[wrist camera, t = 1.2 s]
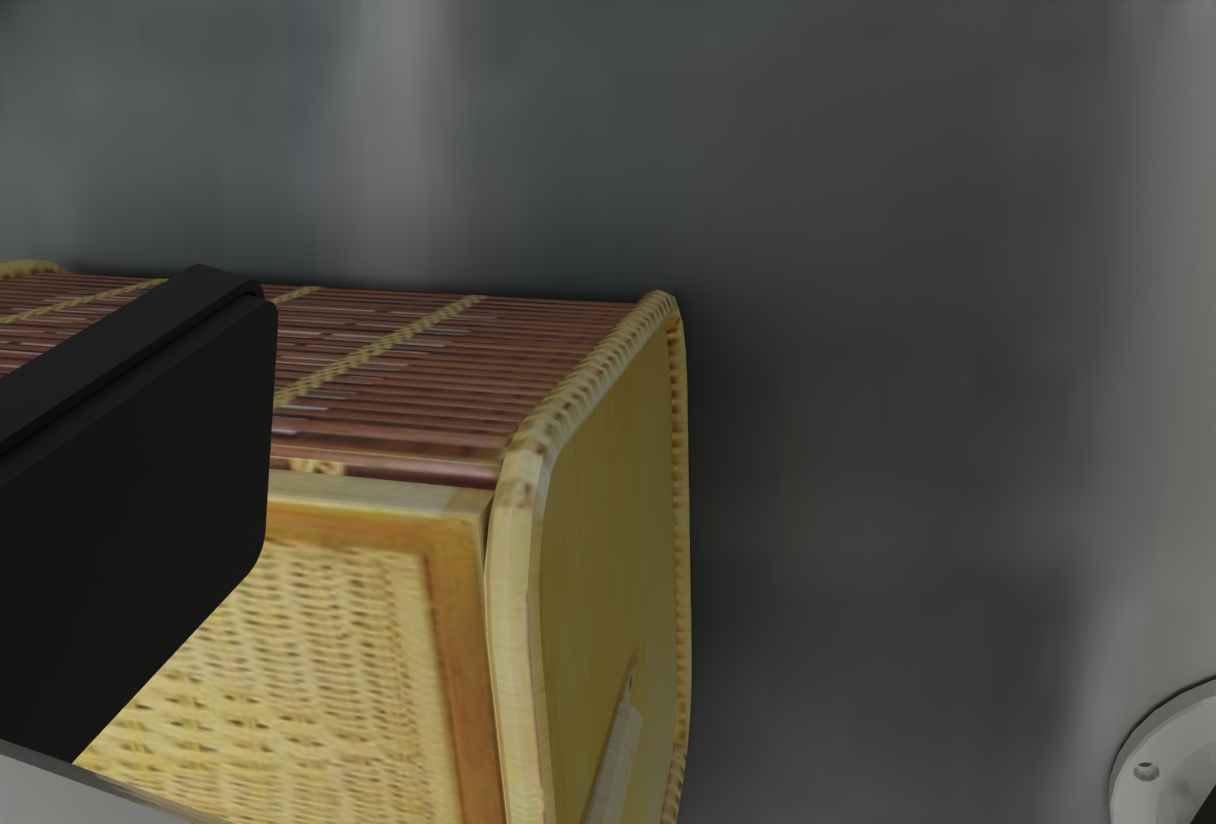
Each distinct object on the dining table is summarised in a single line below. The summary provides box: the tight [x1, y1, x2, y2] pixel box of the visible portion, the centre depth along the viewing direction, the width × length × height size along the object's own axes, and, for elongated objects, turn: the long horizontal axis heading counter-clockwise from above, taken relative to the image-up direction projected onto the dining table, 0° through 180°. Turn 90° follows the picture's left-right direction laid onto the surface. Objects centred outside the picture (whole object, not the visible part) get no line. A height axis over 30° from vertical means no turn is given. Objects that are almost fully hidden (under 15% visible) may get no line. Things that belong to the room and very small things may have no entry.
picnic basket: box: [0, 258, 692, 824], centre depth 35 cm, size 29×26×30 cm
